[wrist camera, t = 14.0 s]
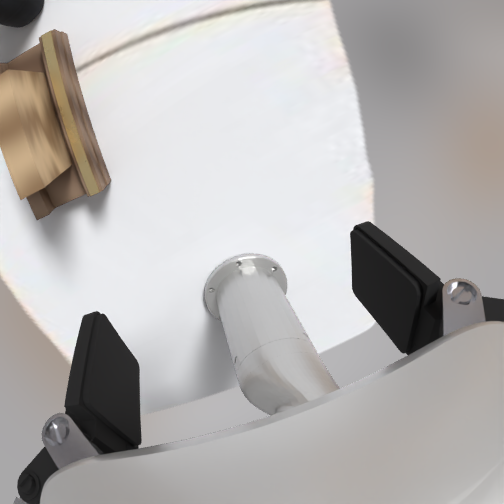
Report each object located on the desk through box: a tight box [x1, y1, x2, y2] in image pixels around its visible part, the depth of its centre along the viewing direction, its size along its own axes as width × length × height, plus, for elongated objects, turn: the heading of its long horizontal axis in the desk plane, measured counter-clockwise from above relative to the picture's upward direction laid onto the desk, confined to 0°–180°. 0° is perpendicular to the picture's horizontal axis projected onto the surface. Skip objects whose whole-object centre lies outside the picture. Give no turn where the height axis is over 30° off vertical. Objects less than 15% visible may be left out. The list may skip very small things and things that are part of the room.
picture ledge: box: [0, 29, 111, 220], centre depth 26 cm, size 20×10×4 cm, turn 13°
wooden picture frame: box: [0, 70, 72, 200], centre depth 22 cm, size 12×3×9 cm, turn 13°
